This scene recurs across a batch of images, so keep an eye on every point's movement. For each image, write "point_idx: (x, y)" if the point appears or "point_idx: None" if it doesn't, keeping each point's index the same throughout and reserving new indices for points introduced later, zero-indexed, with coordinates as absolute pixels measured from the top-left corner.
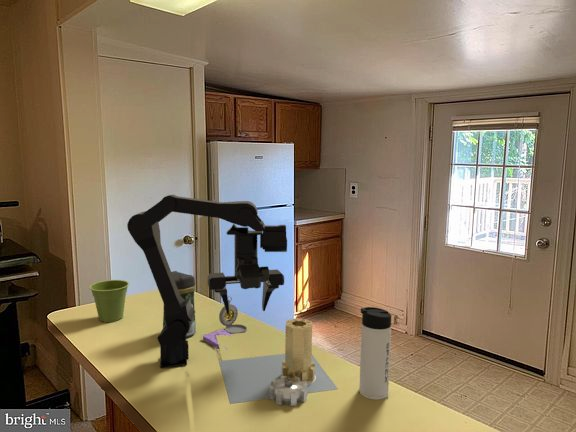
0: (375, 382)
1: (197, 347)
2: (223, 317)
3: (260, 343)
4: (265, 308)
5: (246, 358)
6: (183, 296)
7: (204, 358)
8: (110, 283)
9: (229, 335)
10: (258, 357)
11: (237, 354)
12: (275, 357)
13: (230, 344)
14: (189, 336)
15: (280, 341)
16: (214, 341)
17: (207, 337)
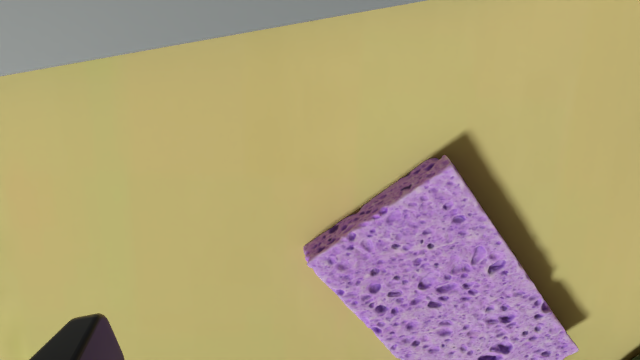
0: None
1: (612, 241)
2: None
3: (215, 287)
4: (43, 347)
5: (320, 9)
6: None
7: (598, 93)
8: None
9: (418, 354)
10: (221, 19)
11: (375, 141)
12: (74, 10)
13: None
14: (635, 357)
15: (77, 313)
16: (520, 280)
17: (553, 329)
